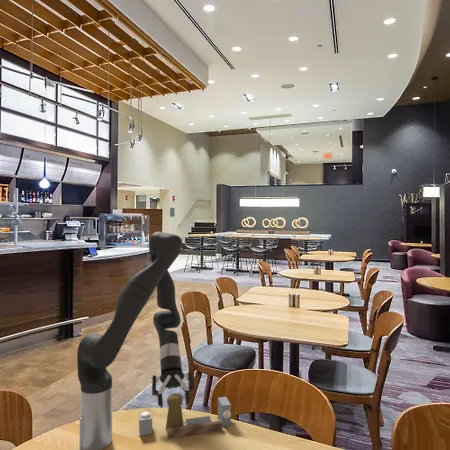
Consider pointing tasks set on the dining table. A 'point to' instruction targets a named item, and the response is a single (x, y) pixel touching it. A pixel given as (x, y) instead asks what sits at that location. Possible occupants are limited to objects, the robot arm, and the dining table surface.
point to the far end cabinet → (224, 411)
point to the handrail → (194, 429)
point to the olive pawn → (174, 411)
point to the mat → (198, 420)
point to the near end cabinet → (145, 423)
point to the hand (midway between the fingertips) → (174, 405)
